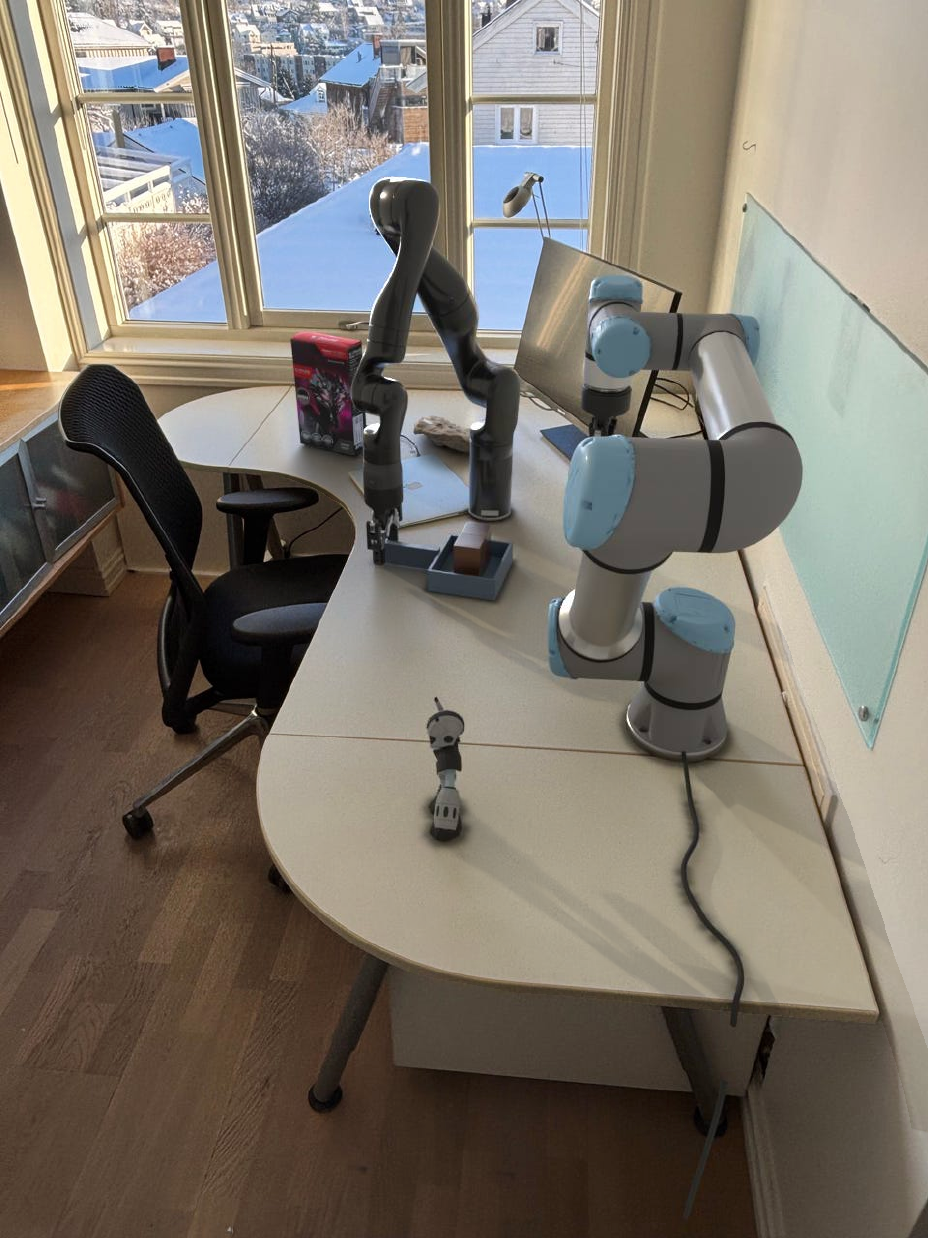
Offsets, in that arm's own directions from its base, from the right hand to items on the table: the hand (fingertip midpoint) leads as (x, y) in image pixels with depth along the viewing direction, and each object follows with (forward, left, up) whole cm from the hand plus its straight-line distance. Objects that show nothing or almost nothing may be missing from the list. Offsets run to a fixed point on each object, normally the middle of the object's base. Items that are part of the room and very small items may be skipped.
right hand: (594, 510), depth 151 cm
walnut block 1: (+17, +24, -24) cm, 38 cm away
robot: (-50, +11, -25) cm, 57 cm away
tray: (+14, +31, -25) cm, 42 cm away
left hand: (+14, +42, -23) cm, 50 cm away
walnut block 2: (+12, +24, -24) cm, 36 cm away
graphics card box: (+65, +74, -25) cm, 102 cm away
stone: (+74, +46, -25) cm, 91 cm away
